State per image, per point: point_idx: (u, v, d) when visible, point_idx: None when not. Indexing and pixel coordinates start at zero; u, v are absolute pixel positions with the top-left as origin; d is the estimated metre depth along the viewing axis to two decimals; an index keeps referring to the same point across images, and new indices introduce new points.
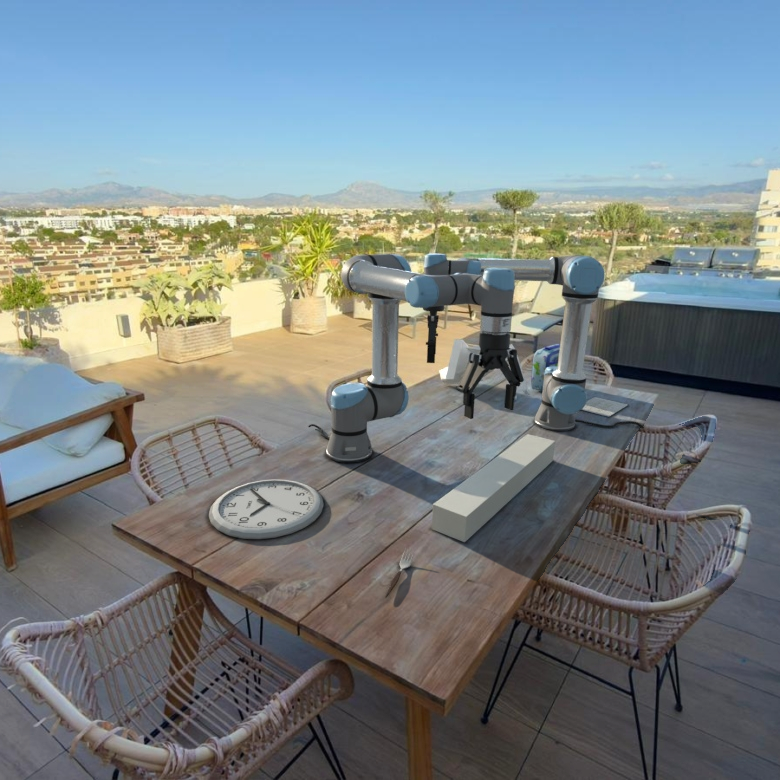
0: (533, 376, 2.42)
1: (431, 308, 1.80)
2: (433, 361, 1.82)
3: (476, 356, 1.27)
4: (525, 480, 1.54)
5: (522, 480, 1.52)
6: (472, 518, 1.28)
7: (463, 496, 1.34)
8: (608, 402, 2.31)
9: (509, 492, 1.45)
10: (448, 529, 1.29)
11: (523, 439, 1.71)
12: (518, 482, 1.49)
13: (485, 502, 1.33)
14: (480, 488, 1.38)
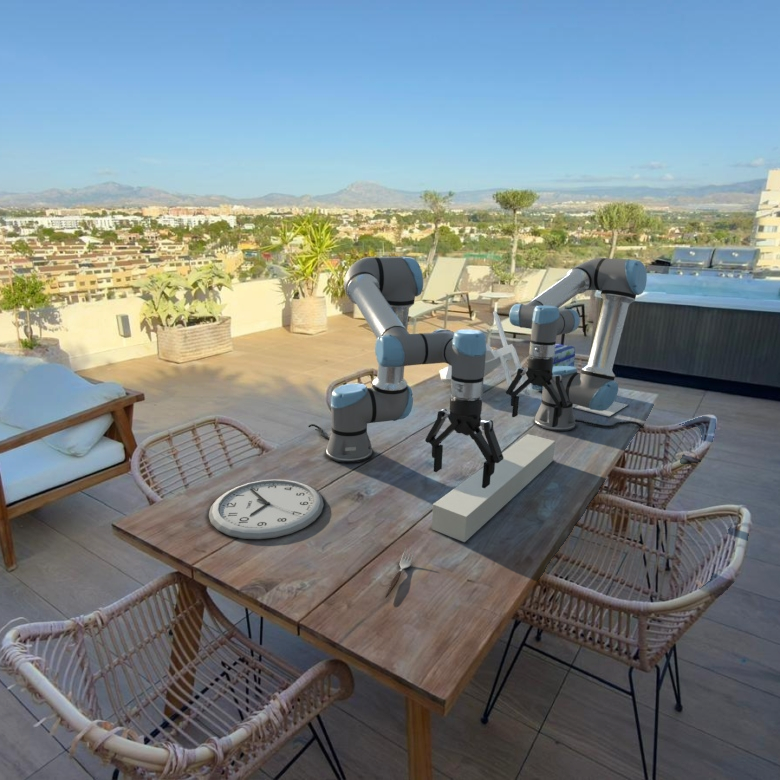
0: None
1: (551, 367, 1.60)
2: (557, 423, 1.64)
3: (438, 412, 1.27)
4: (525, 480, 1.54)
5: (522, 480, 1.52)
6: (472, 518, 1.28)
7: (463, 496, 1.34)
8: None
9: (509, 492, 1.45)
10: (448, 529, 1.29)
11: (523, 439, 1.71)
12: (518, 482, 1.49)
13: (485, 502, 1.33)
14: (480, 488, 1.38)
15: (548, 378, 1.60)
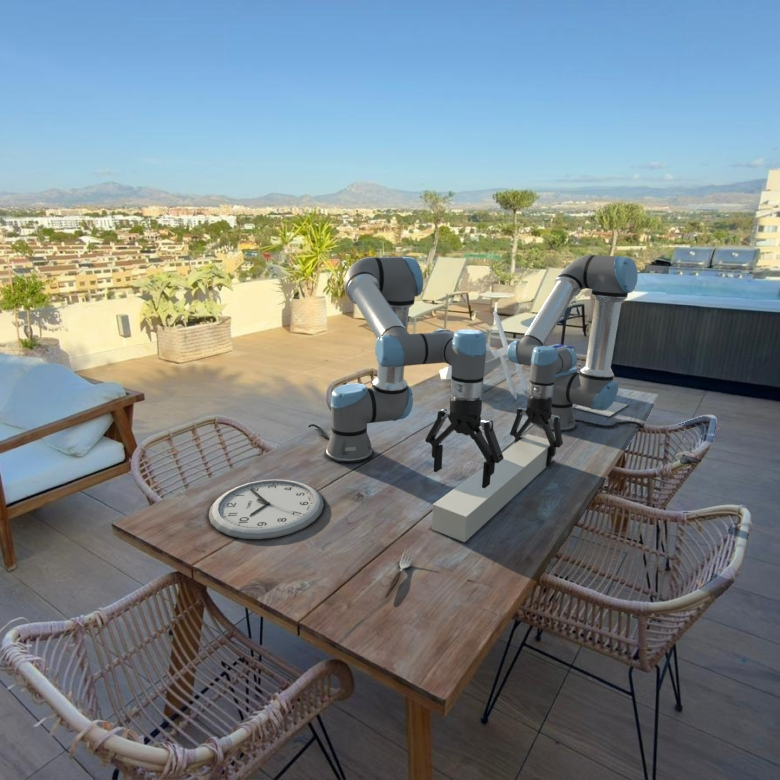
0: None
1: (550, 406, 1.63)
2: (550, 462, 1.69)
3: (438, 412, 1.27)
4: (525, 480, 1.54)
5: (522, 480, 1.52)
6: (472, 518, 1.28)
7: (463, 496, 1.34)
8: None
9: (509, 492, 1.45)
10: (448, 529, 1.29)
11: (523, 439, 1.71)
12: (518, 482, 1.49)
13: (485, 502, 1.33)
14: (480, 488, 1.38)
15: (547, 417, 1.64)
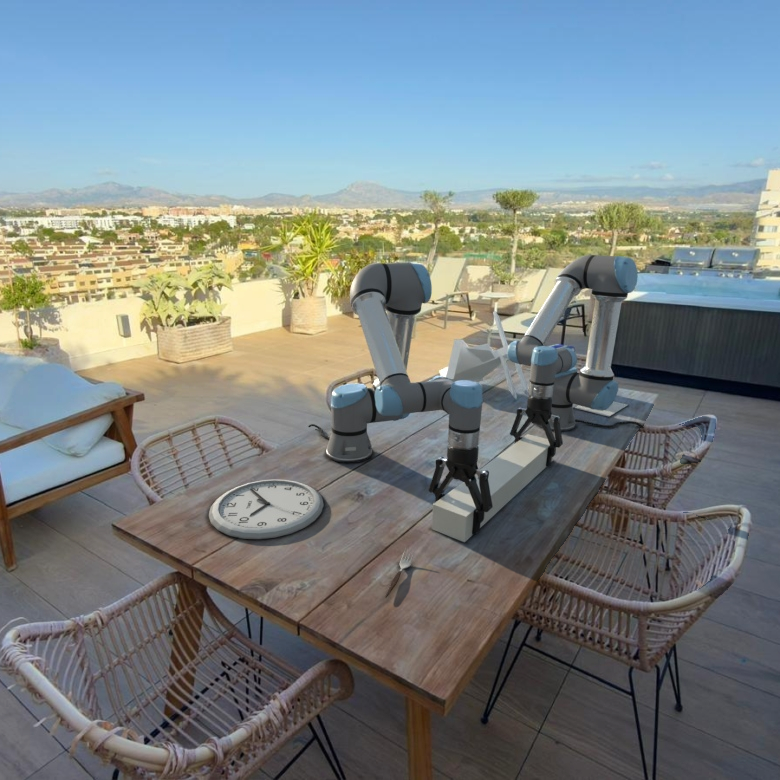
0: None
1: (550, 406, 1.63)
2: (550, 462, 1.69)
3: (436, 461, 1.31)
4: (525, 480, 1.54)
5: (522, 480, 1.52)
6: (472, 518, 1.28)
7: (463, 496, 1.34)
8: None
9: (509, 492, 1.45)
10: (448, 529, 1.29)
11: (523, 439, 1.71)
12: (518, 482, 1.49)
13: None
14: None
15: (547, 417, 1.64)
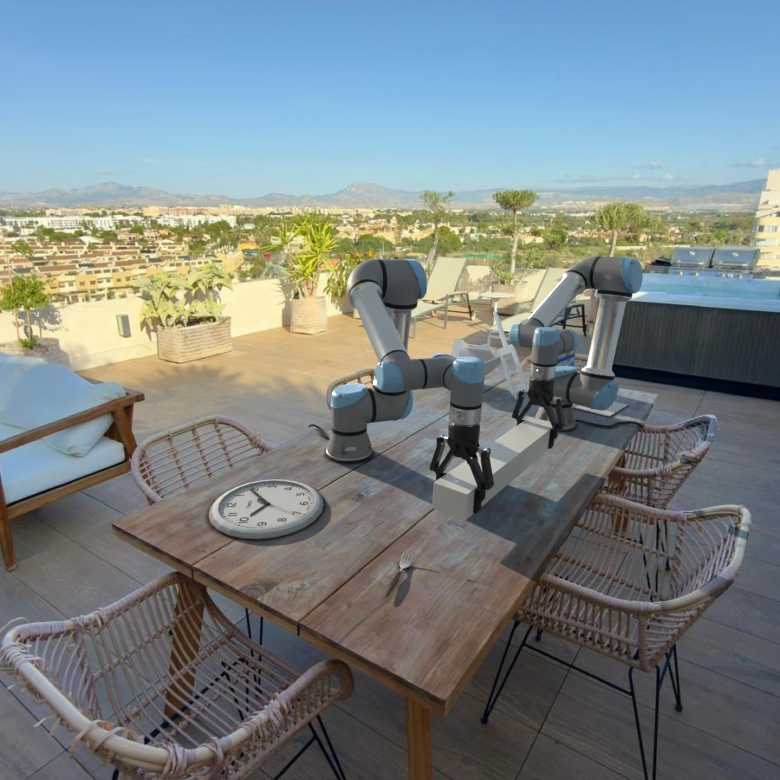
0: None
1: (552, 388, 1.61)
2: (553, 445, 1.67)
3: (437, 438, 1.30)
4: (527, 461, 1.53)
5: (523, 461, 1.50)
6: (473, 496, 1.27)
7: (465, 475, 1.33)
8: None
9: (511, 472, 1.44)
10: (448, 507, 1.28)
11: (525, 422, 1.70)
12: (519, 462, 1.48)
13: None
14: (481, 468, 1.37)
15: (549, 399, 1.62)
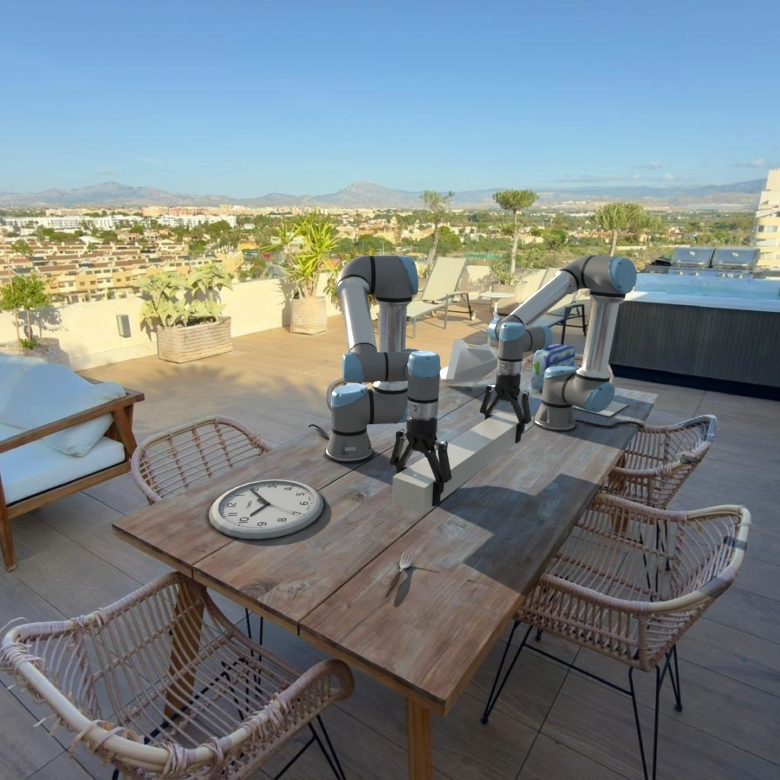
0: (533, 376, 2.42)
1: (518, 383, 1.63)
2: (520, 439, 1.69)
3: (396, 433, 1.31)
4: (491, 455, 1.54)
5: (487, 456, 1.52)
6: (431, 489, 1.28)
7: (425, 469, 1.34)
8: None
9: (473, 466, 1.45)
10: (407, 501, 1.29)
11: (493, 417, 1.71)
12: (483, 457, 1.49)
13: None
14: None
15: (515, 394, 1.63)
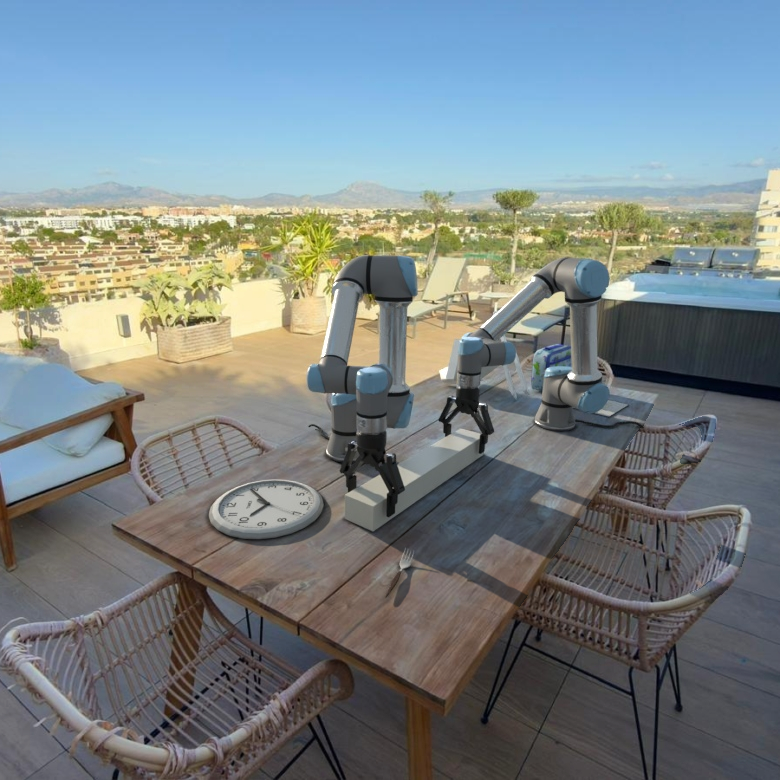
0: (533, 376, 2.42)
1: (477, 396, 1.66)
2: (484, 450, 1.71)
3: (348, 444, 1.34)
4: (448, 472, 1.58)
5: (444, 473, 1.56)
6: (381, 508, 1.32)
7: (377, 487, 1.38)
8: (608, 402, 2.31)
9: (428, 484, 1.49)
10: (358, 518, 1.33)
11: (454, 433, 1.75)
12: (438, 474, 1.53)
13: None
14: None
15: (474, 407, 1.67)
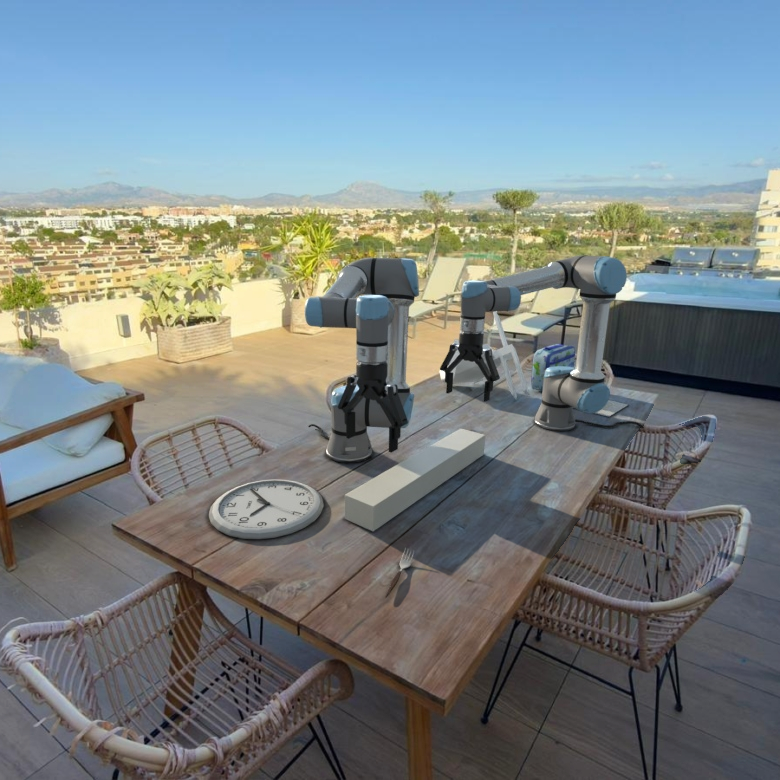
0: (533, 376, 2.42)
1: (480, 342, 1.61)
2: (489, 398, 1.65)
3: (348, 378, 1.29)
4: (448, 472, 1.58)
5: (444, 473, 1.56)
6: (381, 508, 1.32)
7: (377, 487, 1.38)
8: (608, 402, 2.31)
9: (428, 484, 1.49)
10: (358, 518, 1.33)
11: (454, 433, 1.75)
12: (438, 474, 1.53)
13: (397, 493, 1.37)
14: (396, 480, 1.42)
15: (478, 353, 1.62)
